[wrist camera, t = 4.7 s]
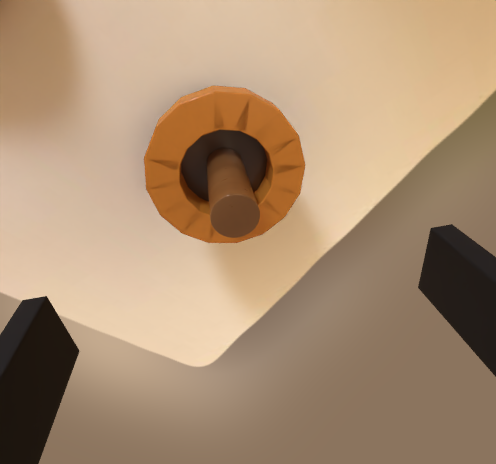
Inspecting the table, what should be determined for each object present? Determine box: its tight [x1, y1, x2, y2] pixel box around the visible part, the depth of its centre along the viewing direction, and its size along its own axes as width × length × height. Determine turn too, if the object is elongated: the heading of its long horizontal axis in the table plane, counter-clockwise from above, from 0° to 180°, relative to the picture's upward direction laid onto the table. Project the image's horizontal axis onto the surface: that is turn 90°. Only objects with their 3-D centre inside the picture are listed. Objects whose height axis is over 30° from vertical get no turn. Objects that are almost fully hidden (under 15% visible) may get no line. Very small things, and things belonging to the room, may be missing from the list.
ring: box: [144, 86, 305, 243], centre depth 21 cm, size 10×10×2 cm
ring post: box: [181, 130, 267, 238], centre depth 20 cm, size 8×8×11 cm
